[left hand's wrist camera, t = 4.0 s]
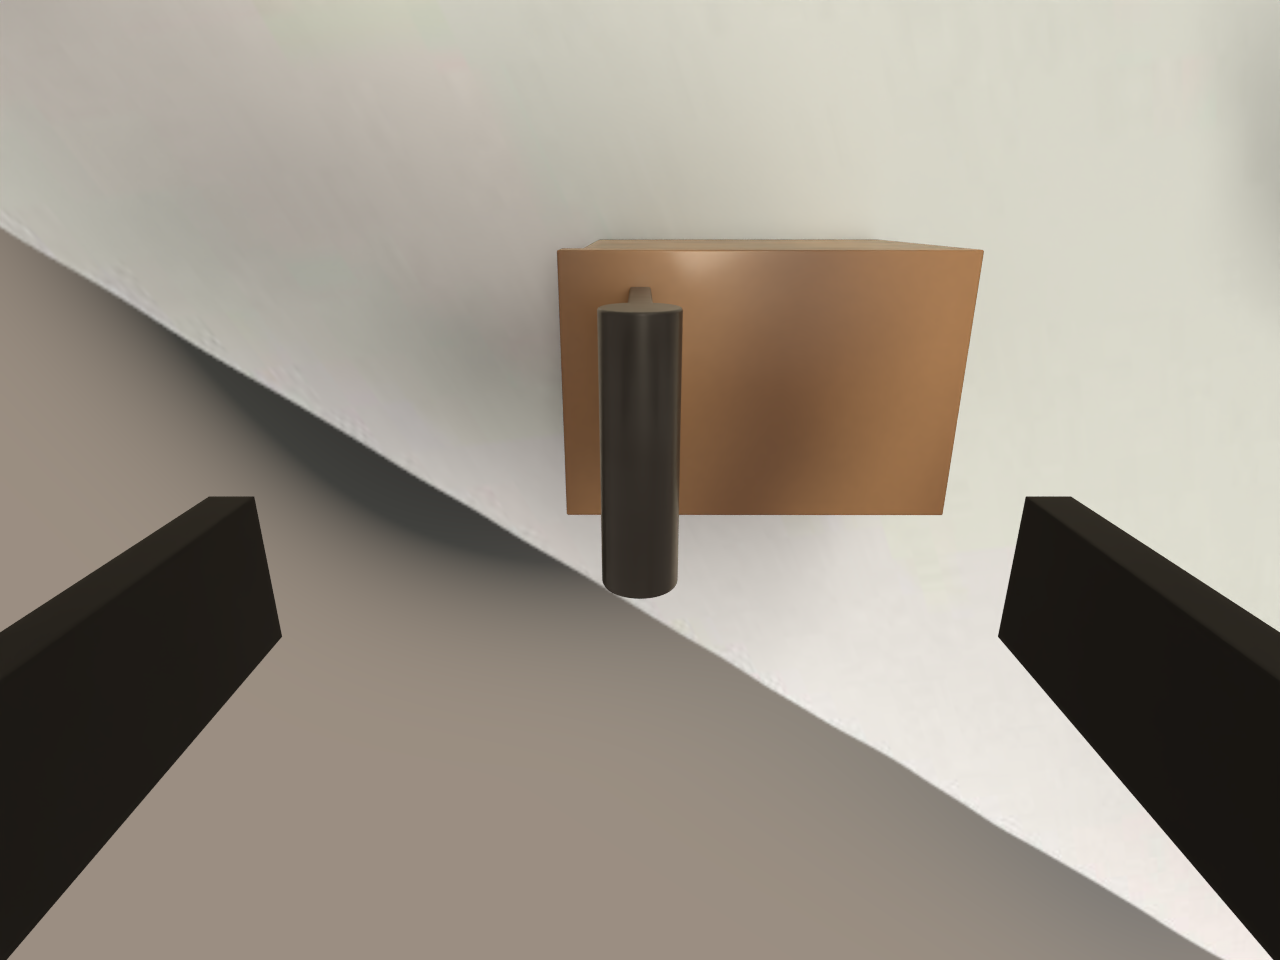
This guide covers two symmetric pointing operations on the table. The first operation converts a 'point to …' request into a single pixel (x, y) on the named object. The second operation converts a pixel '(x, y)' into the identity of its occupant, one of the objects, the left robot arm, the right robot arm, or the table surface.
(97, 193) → the table surface
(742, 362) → the lid
